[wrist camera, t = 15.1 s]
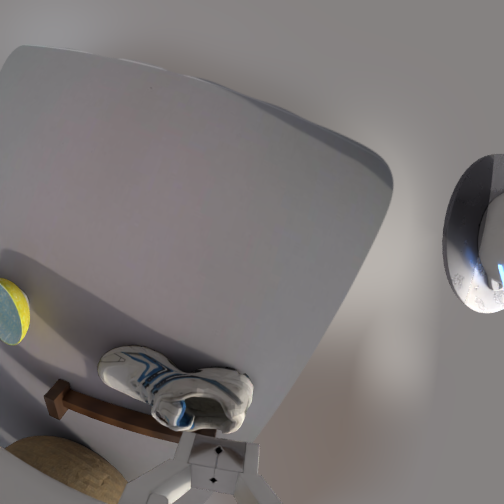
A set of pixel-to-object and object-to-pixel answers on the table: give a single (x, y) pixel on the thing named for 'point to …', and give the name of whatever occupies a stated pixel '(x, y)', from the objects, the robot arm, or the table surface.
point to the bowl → (13, 312)
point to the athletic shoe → (179, 389)
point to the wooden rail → (110, 413)
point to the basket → (71, 466)
